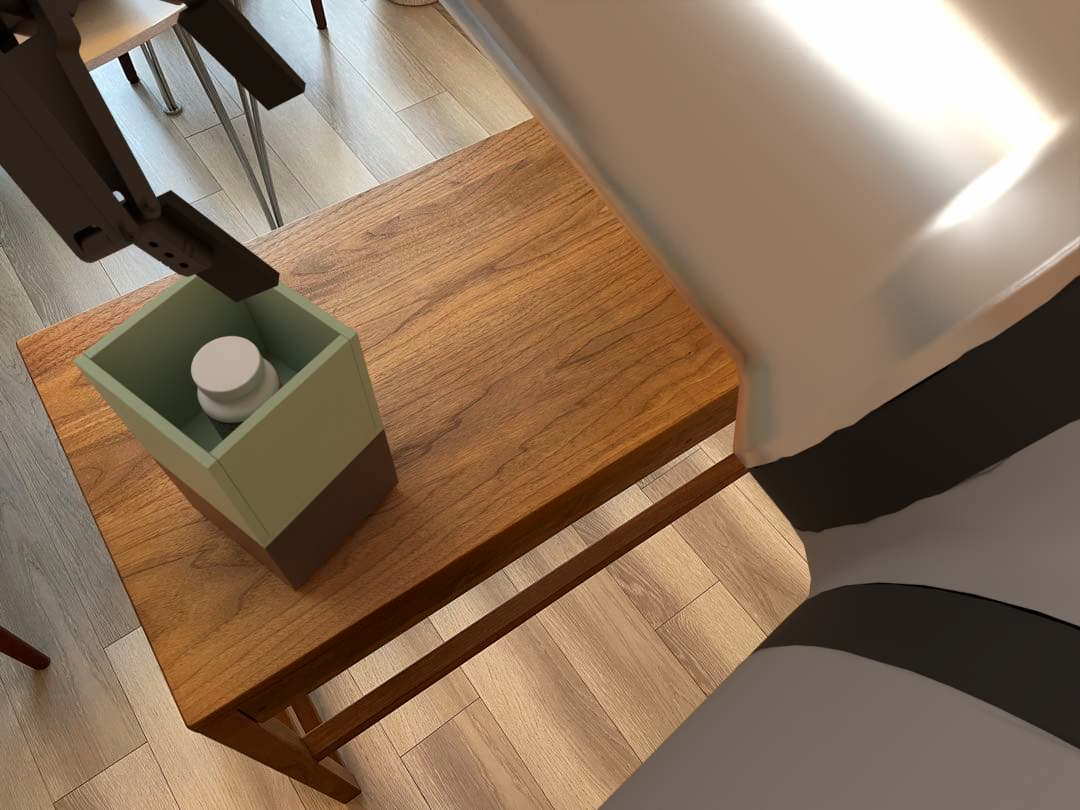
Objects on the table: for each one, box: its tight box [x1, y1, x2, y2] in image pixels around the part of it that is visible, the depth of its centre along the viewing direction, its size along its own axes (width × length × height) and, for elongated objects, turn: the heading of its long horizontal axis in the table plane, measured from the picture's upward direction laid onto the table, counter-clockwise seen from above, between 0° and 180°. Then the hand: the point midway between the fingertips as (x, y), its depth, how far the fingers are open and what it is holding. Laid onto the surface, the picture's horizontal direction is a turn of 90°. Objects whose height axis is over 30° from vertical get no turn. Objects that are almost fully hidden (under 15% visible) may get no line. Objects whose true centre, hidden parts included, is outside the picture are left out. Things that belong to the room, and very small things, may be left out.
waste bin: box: [72, 274, 400, 593], centre depth 62 cm, size 13×13×23 cm
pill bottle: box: [191, 336, 283, 440], centre depth 59 cm, size 6×6×10 cm
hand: (274, 185), depth 42 cm, fingers open, 13 cm apart
